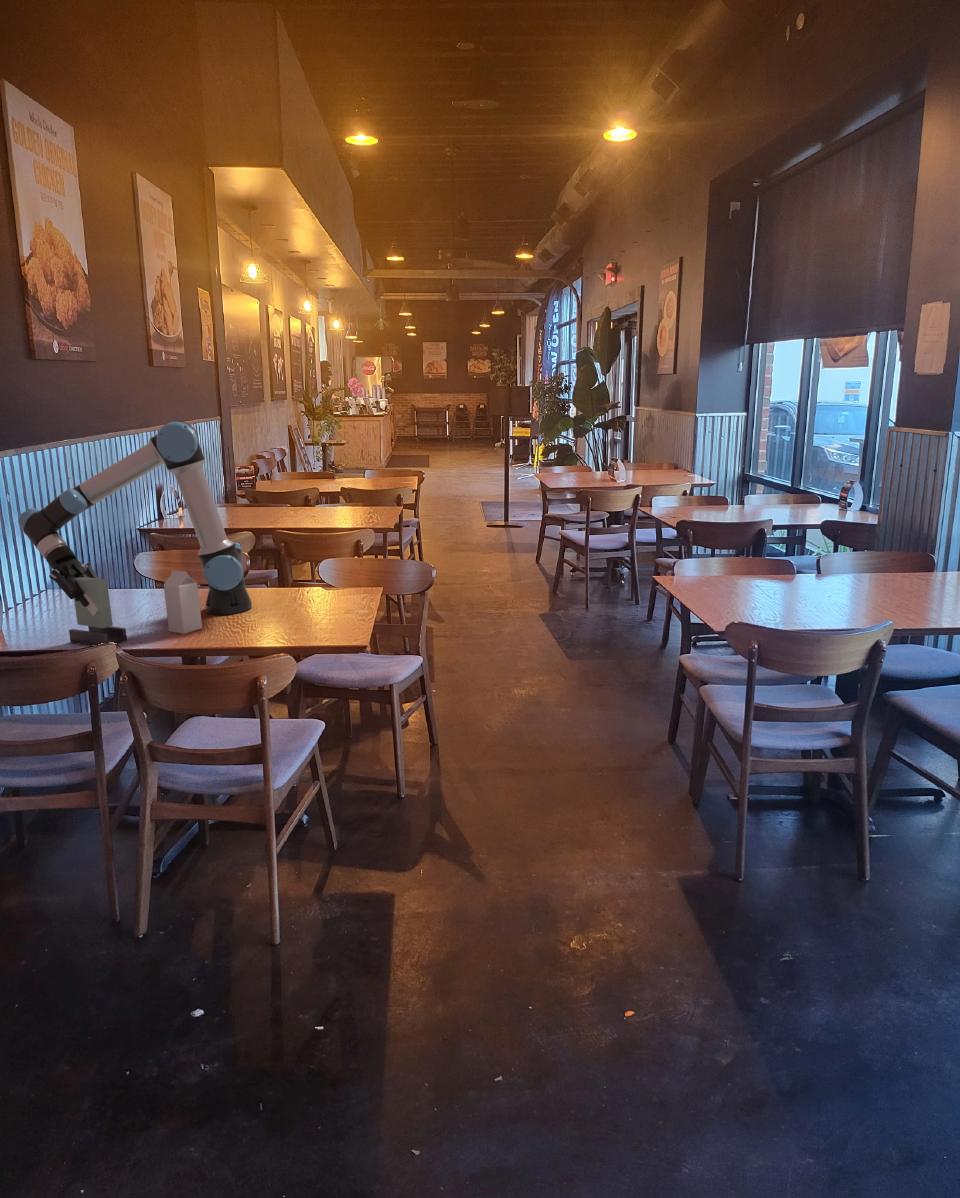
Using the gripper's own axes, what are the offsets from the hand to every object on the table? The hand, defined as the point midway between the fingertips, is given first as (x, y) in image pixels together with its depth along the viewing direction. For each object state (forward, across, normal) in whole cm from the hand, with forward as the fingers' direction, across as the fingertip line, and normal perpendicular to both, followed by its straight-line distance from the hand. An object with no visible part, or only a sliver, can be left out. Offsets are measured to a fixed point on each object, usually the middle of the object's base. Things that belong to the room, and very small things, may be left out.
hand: (102, 611), depth 251 cm
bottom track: (+4, 0, -10) cm, 11 cm away
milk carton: (+15, -20, +1) cm, 25 cm away
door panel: (0, 0, -6) cm, 6 cm away
